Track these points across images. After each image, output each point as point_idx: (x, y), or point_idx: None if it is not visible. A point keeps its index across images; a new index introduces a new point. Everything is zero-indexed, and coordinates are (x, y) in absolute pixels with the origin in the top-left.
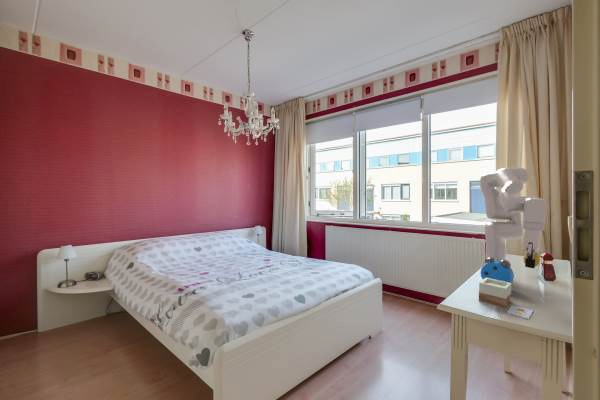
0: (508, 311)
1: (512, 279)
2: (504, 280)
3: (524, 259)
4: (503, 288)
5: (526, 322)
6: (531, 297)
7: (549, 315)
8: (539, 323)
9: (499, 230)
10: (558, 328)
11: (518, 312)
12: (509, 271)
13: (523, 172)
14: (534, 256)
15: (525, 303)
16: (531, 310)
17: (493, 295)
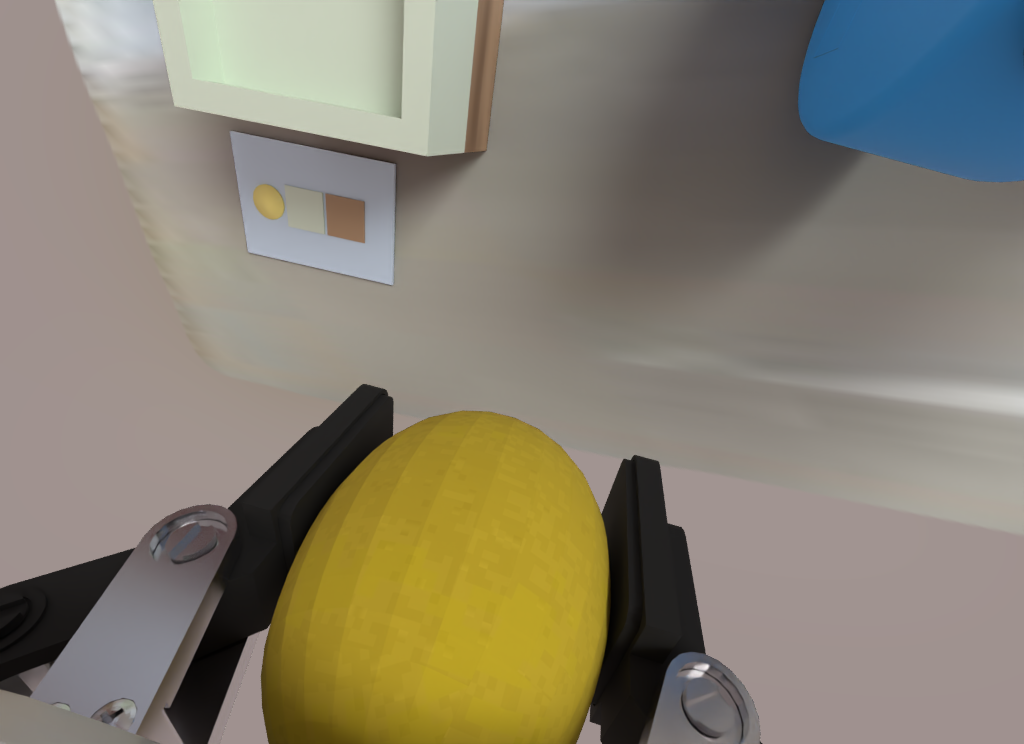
0: (254, 140)
1: (908, 163)
2: (841, 57)
3: (387, 455)
4: (173, 75)
5: (195, 238)
6: (694, 303)
7: (395, 355)
8: (241, 296)
9: None
10: (257, 362)
11: (286, 202)
12: (944, 112)
13: None
14: (227, 682)
15: (516, 253)
16: (390, 277)
17: None
